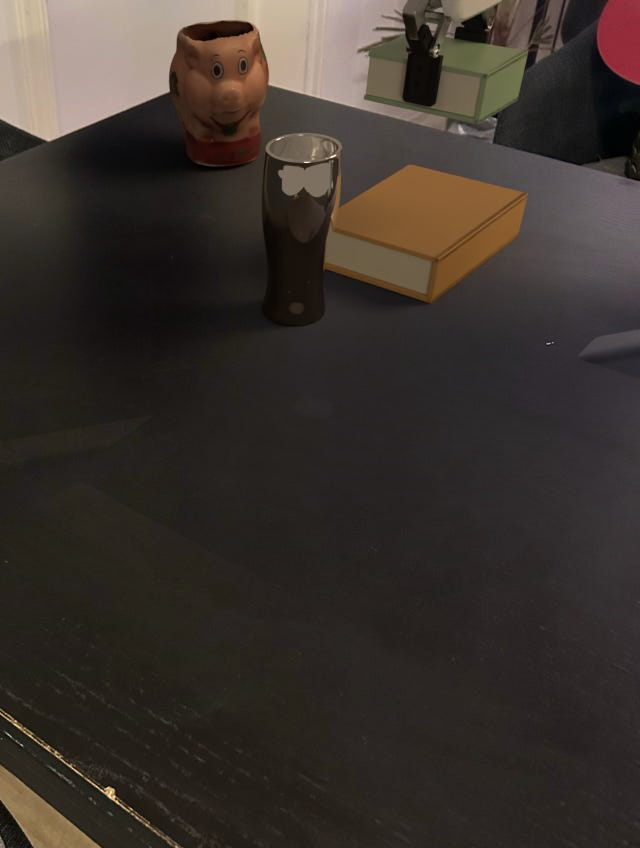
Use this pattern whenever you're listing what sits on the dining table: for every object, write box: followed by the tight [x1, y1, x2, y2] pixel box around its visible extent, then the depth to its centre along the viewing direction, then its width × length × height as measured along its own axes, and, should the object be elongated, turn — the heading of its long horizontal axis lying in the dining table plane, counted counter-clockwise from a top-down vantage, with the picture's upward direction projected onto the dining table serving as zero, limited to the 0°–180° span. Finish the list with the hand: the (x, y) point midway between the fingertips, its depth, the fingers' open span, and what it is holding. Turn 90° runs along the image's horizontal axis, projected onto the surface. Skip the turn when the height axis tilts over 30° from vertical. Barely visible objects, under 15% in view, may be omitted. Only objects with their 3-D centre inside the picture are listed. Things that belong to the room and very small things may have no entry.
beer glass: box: [260, 132, 343, 327], centre depth 83 cm, size 7×7×15 cm
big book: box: [324, 163, 529, 304], centre depth 94 cm, size 14×18×4 cm
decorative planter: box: [168, 19, 270, 167], centre depth 112 cm, size 20×12×14 cm, turn 13°
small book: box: [363, 34, 529, 125], centre depth 84 cm, size 12×8×4 cm, turn 49°
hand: (442, 89), depth 85 cm, fingers closed on small book, 7 cm apart
